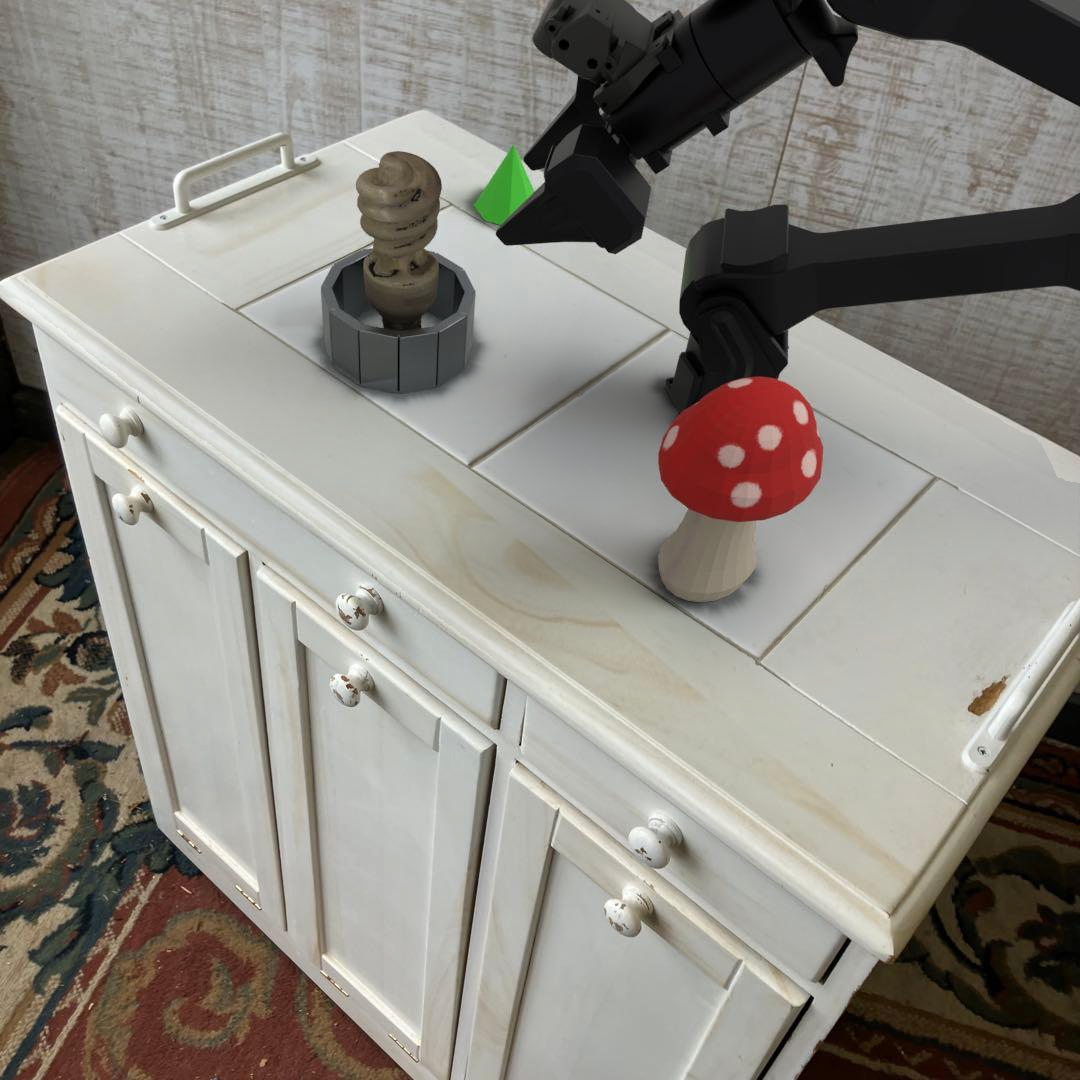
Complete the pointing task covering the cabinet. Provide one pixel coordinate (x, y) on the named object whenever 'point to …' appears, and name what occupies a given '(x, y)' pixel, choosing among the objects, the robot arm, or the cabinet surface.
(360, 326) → the faceted gray ring
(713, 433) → the decorative mushroom
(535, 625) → the cabinet surface
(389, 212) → the light bulb
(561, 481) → the cabinet surface
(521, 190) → the green faceted cone
